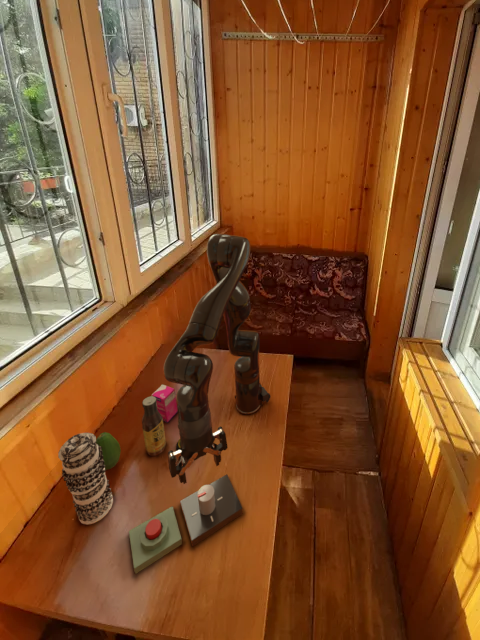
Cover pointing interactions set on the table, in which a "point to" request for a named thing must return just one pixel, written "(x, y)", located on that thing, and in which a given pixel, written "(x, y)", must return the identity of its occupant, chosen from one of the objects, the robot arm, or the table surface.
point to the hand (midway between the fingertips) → (200, 471)
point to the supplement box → (166, 402)
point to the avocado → (109, 449)
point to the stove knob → (206, 499)
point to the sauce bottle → (153, 427)
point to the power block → (154, 540)
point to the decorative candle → (86, 477)
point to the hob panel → (222, 514)
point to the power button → (153, 529)
